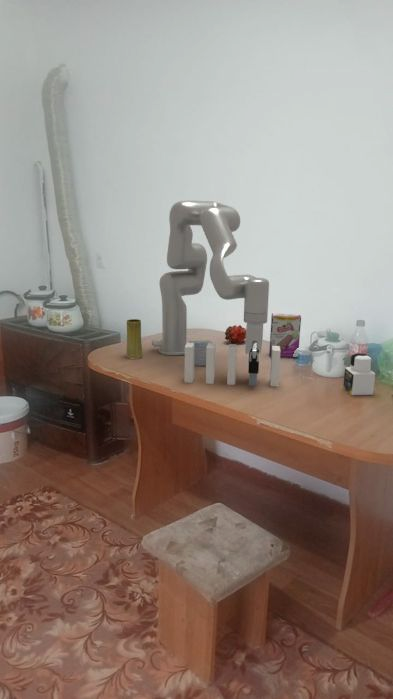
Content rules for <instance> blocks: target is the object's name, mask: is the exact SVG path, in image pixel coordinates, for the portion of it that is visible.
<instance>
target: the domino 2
mask: <svg viewBox="0 0 393 699" xmlns="http://www.w3.org/2000/svg"><path fill="white" fill-rule="evenodd" d="M215 376H216V343H213V342H212V343H208V345H207V348H206V366H205V384H206V385H207V384H208V385H209V384H210V385H213V384H214V382H215V378H216V377H215Z"/></svg>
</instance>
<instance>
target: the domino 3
mask: <svg viewBox="0 0 393 699" xmlns="http://www.w3.org/2000/svg"><path fill="white" fill-rule="evenodd" d="M237 344H238V343H236V344H235V343H233V344H231V343H229V344H228V348H227V349H228V350H227V351H228V352H227V353H228V354H227V375H226V376H227V379H226V380H227V382H226V383H227V385H231V386H232V385H233V386H235V385H236V379H237V378H236V374H237V350H238V349H237V346H238V345H237Z"/></svg>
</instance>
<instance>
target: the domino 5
mask: <svg viewBox="0 0 393 699" xmlns="http://www.w3.org/2000/svg"><path fill="white" fill-rule="evenodd" d="M280 352H281V351H280V346H272V353H271V357H270V376H269V384H270V387H271V388H272V387H276V388H278V387H279V386H280V384H279V382H280V369H281V367H280V366H281V357H280Z"/></svg>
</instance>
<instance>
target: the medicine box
mask: <svg viewBox="0 0 393 699" xmlns="http://www.w3.org/2000/svg"><path fill="white" fill-rule="evenodd" d="M188 343H194V367H204V366H205V367H206V348H207V345H208V343H213V342H212V341H211V339H210V340H209V339H201V340H200V339H199V340H189V342H188Z"/></svg>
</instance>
